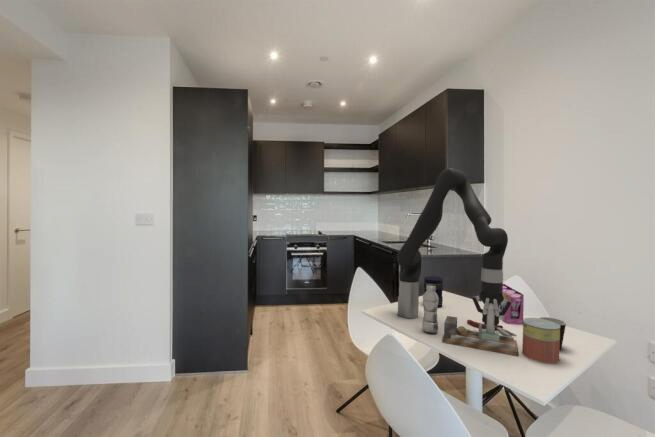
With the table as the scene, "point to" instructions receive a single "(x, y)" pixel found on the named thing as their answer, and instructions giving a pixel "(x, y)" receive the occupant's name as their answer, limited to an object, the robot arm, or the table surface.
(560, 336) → the coffee mug
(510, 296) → the gum box
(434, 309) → the plastic bottle
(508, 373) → the table surface
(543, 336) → the canned food
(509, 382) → the table surface
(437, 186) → the robot arm
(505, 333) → the pliers
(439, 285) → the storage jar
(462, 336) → the base
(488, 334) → the grey post on base
